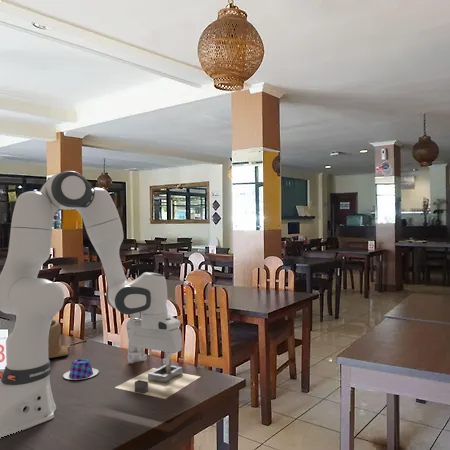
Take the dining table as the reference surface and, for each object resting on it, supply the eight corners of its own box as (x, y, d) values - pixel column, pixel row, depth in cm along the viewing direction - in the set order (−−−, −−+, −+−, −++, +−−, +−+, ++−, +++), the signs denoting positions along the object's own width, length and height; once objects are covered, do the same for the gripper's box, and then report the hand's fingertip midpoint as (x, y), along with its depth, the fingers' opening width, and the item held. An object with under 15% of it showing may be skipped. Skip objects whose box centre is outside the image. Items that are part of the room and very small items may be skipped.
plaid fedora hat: (105, 372, 160) (105, 358, 160) (80, 384, 149) (80, 368, 149) (81, 368, 166) (80, 354, 165) (55, 378, 155) (55, 363, 155)
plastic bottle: (141, 366, 165) (139, 313, 164) (124, 365, 166) (122, 312, 166) (147, 360, 171) (146, 309, 171) (131, 360, 172) (130, 309, 172)
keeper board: (165, 403, 131) (164, 378, 131) (114, 392, 141) (113, 368, 141) (200, 381, 149) (200, 358, 149) (153, 372, 158) (152, 351, 158)
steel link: (165, 383, 143) (165, 376, 143) (148, 380, 147) (147, 373, 146) (182, 373, 152) (182, 367, 152) (165, 370, 155) (165, 364, 155)
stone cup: (31, 365, 169) (30, 326, 169) (30, 356, 180) (29, 319, 180) (73, 359, 176) (71, 321, 175) (70, 350, 186) (68, 315, 186)
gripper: (124, 319, 150) (124, 360, 150) (173, 325, 140) (173, 369, 140) (136, 316, 155) (136, 355, 155) (184, 322, 145) (185, 364, 145)
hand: (154, 362), depth 147 cm, fingers open, 8 cm apart
